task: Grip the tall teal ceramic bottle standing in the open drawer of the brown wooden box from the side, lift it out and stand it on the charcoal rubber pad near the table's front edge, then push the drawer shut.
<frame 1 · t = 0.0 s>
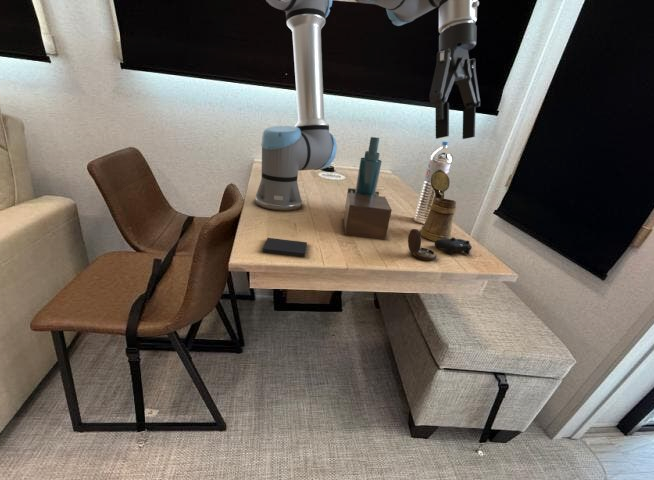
hand: (456, 137, 77), 28 cm above the table, tool tilted 20°, fingers open, 13 cm apart
compass: (419, 255, 87), on the table
brown wooden box: (363, 228, 99), on the table
bottle: (361, 211, 107), point 2 cm above the table, touching drawer
drawer: (362, 203, 108), point 4 cm above the table, slide at 9.0 cm, touching bottle
game controller: (453, 251, 92), on the table
water bottle: (422, 222, 113), on the table
wooden mug: (431, 234, 102), on the table
mat: (285, 249, 80), on the table
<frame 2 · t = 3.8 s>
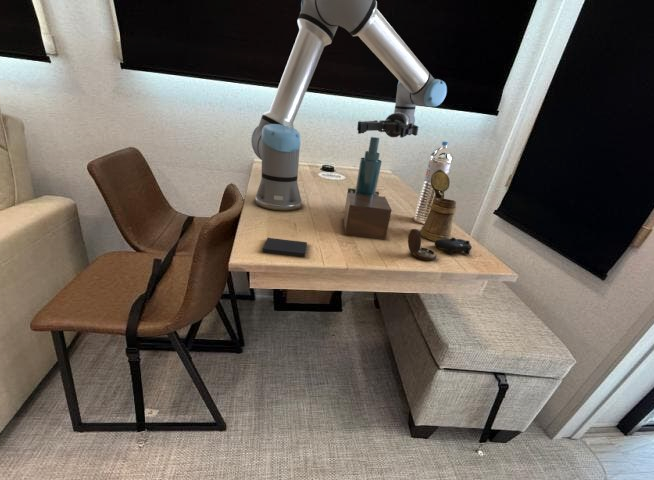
hand: (380, 130, 101), 26 cm above the table, tool horizontal, fingers open, 13 cm apart
nothing on the table moved.
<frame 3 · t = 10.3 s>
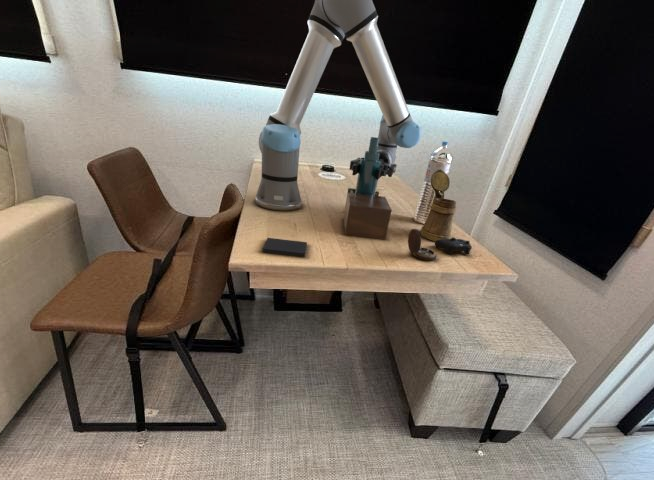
hand: (365, 172, 96), 15 cm above the table, tool horizontal, fingers closed on bottle, 6 cm apart
bottle: (361, 211, 107), point 2 cm above the table, touching drawer, gripper
everything else where it was.
when the fingers open (14 cm above the table, at t = 20.9 s): bottle stays where it is, resting on mat.
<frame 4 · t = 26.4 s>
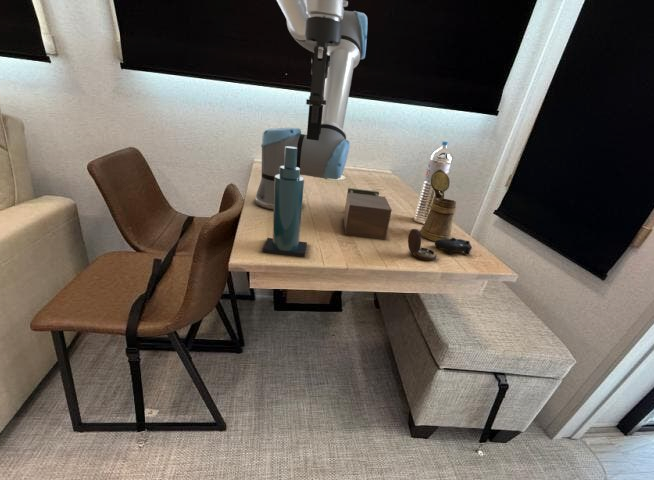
hand: (313, 136, 78), 24 cm above the table, tool pointing down, fingers open, 12 cm apart
bottle: (285, 245, 80), point 1 cm above the table, touching mat
drawer: (362, 203, 108), point 4 cm above the table, slide at 9.0 cm
everything else where it was.
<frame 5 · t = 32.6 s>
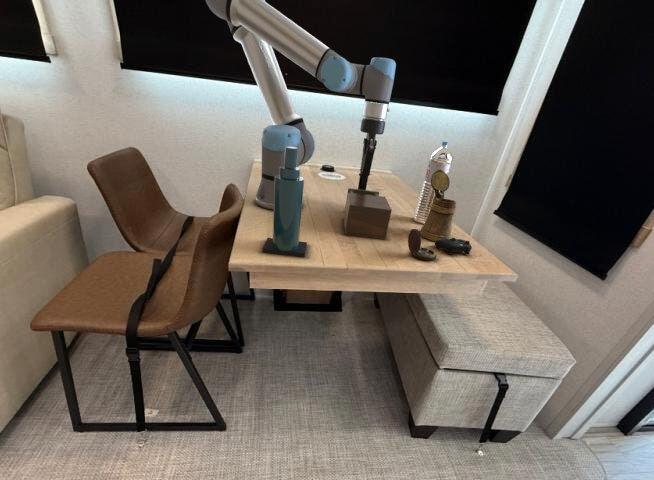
hand: (360, 194, 115), 5 cm above the table, tool pointing down, fingers closed
drawer: (362, 203, 108), point 4 cm above the table, slide at 8.8 cm, touching gripper
everything else where it was.
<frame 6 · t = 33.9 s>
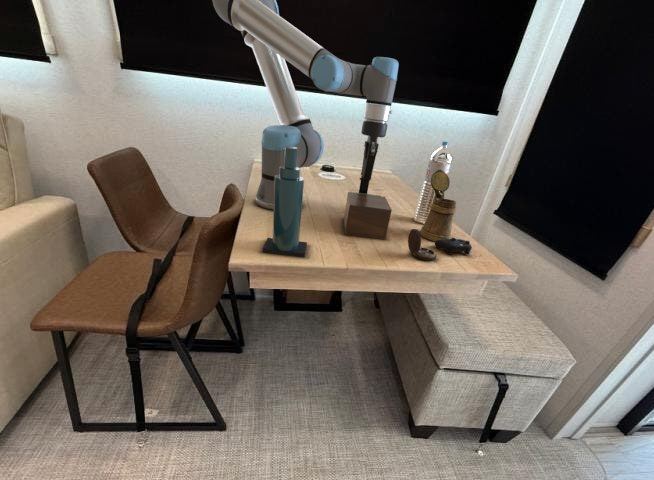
hand: (361, 199, 111), 4 cm above the table, tool pointing down, fingers closed
drawer: (363, 207, 103), point 4 cm above the table, slide at 3.6 cm, touching gripper
everything else where it was.
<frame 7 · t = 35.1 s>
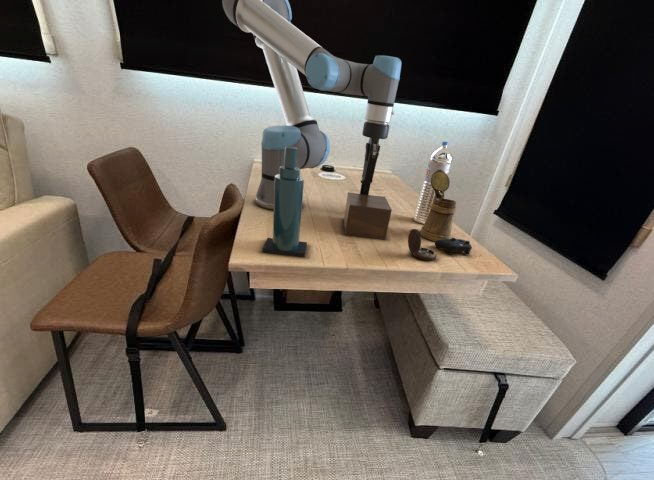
hand: (362, 202, 108), 4 cm above the table, tool pointing down, fingers closed
drawer: (364, 211, 100), point 4 cm above the table, slide at 0.0 cm, touching brown wooden box, gripper
everything else where it was.
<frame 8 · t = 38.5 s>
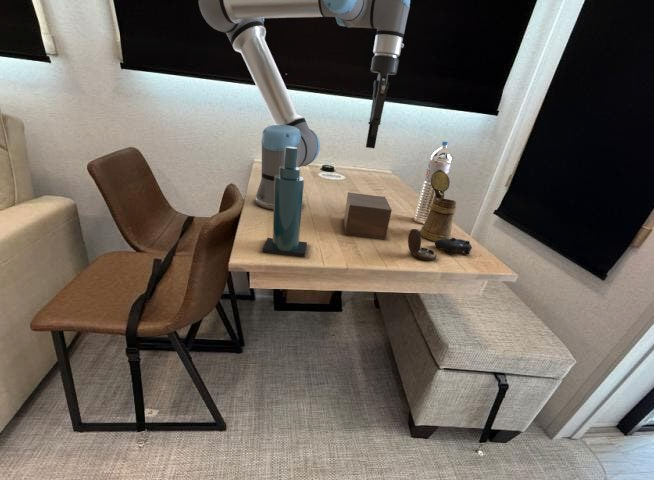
hand: (370, 147, 104), 20 cm above the table, tool pointing down, fingers closed
drawer: (364, 211, 100), point 4 cm above the table, slide at 0.0 cm, touching brown wooden box
everything else where it was.
at the end: bottle inside the target area on the mat (0.2 cm from its centre), point 1.0 cm above the mat's base; bottle tilted 0°; drawer slide at 0.0 cm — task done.
